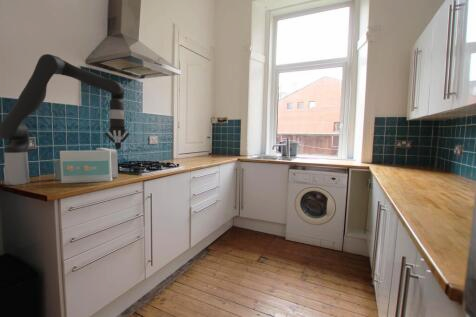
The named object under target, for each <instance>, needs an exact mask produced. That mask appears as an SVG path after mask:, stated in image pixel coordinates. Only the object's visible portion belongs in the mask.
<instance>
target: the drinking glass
mask: <svg viewBox="0 0 476 317" xmlns="http://www.w3.org/2000/svg"><path fill="white" fill-rule="evenodd" d="M53 166H54V172H55V178H56V181H61V165H60V158H59V159H54V160H53Z"/></svg>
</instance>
